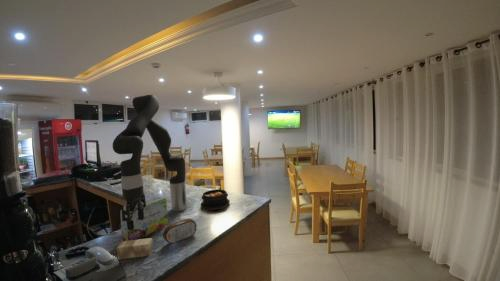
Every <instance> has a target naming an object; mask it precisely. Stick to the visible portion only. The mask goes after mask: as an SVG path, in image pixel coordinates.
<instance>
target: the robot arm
mask: <svg viewBox="0 0 500 281" xmlns="http://www.w3.org/2000/svg"><path fill="white" fill-rule="evenodd" d="M132 107H133V110H134V111H135V113H136V114H135V116H133V117H132V118H131V119H130V120H129V122H128V124H127V126H126V128H124V130H122V131H121V132H120V133H119V134H117V136H116V137H115V138H114V139H113V141H112V150H113V152H114V153H115V154H116V155H131V154H132V156H131V157H130V158H129V159H126V160H122V161H121V162H120V166H119V168H120V176H121V178H120V180H121V181H120V184H121V192H122V193H121V194H122V199H123V200H125V201H126V204H125V205H121V210H122V221H127V229H128V230H133V229H134V222H133V217H134V214H136V210H137V211H138V219H139V220H143V219H144V207H146V201H147V200H146V195H145V192H144V182H143V176H142V169H141V168H142V167H141V160H142V153H143V149H144V141H143V139H142V138H143V136H144V134H145V131H146V130H147V132H148V133H149V137H151V140H152V141H153V142H152V143H153V144H154V146H155V147H156V149H157V151H158V153H159V154H160V157H161V160H162V162H163V164H164V167H165V169H166V170H167V171H168V172H176V174H175V175H174V176H172V177H170V178H169V188H170V190H169V192H170V204H171V211H172V212H181V211H184V210H186V209H187V208H188V204H187V203H188V202H187V188H186V161H185V158H184V156H172V155H171V153H170V148H171V146H172V137H171V136H170V133H169V131H168V129H167V128H166V127H164V126H163V125H162V124H160V123H159V122H157V121H156V120H154V119H153V118H154V116H155V115H156V114H157V112H158V111H159V109H160V102H159V100H158V98H157V96H155V95H154V94H146V95H140V96H135V97H133V99H132ZM143 204H144V205H143ZM131 211H133V212H131ZM125 215H126V218H125ZM130 215H131V217H130Z"/></svg>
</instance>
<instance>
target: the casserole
mask: <svg viewBox="0 0 500 281" xmlns="http://www.w3.org/2000/svg"><path fill="white" fill-rule="evenodd" d="M228 195H229V194H228V192H227V191H226V189H211V190H207V191H205V192H203V194H202V196H201V199H202V201H201V203H200V206H201V207H203V208H204V209H205V210H208V211H218V210H223V209H225V208H227V207H228V205H229V203H230V199H228V197H229V196H228Z"/></svg>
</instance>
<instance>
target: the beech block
mask: <svg viewBox="0 0 500 281" xmlns="http://www.w3.org/2000/svg"><path fill="white" fill-rule="evenodd" d="M153 246H154V245H153V237H150V238H139V239H137V240H129V241H121V242H120V243H119V244H118V245H117V246H116V257H118V258H119V259H118V260H125V259H133V258H140V257H147V256H150V255H151V253H152V251H153V249H154V248H153Z"/></svg>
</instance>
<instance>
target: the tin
mask: <svg viewBox="0 0 500 281" xmlns="http://www.w3.org/2000/svg"><path fill="white" fill-rule="evenodd" d="M197 228H198V226H197V223H196V221H194V220H193V219H192V218H186V219H182V220H179V221H176V222H173V223H170V224H168V225H166V226H165V229H164V231H163V234H162V237H163V239H164V241H165V242H166V243H167V244H176V243H178V242H181V241H184V240H186V239H189V238H191V237H193V236H194V235H195V234H196V232H197Z"/></svg>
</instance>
